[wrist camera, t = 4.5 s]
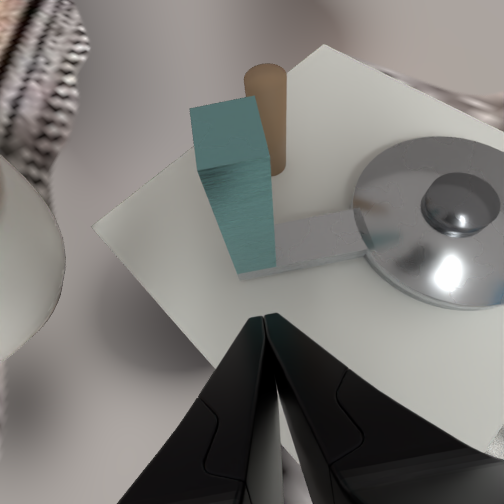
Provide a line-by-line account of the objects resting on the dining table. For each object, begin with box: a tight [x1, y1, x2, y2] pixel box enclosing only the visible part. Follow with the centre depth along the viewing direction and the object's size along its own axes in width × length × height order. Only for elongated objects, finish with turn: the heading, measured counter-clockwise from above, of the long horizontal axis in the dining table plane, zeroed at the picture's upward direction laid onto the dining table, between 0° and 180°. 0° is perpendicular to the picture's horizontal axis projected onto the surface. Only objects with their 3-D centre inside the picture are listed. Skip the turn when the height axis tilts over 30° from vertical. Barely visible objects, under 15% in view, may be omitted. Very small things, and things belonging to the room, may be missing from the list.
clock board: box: [91, 44, 504, 466], centre depth 16 cm, size 22×22×7 cm
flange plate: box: [190, 95, 504, 311], centre depth 13 cm, size 16×10×9 cm, turn 100°
